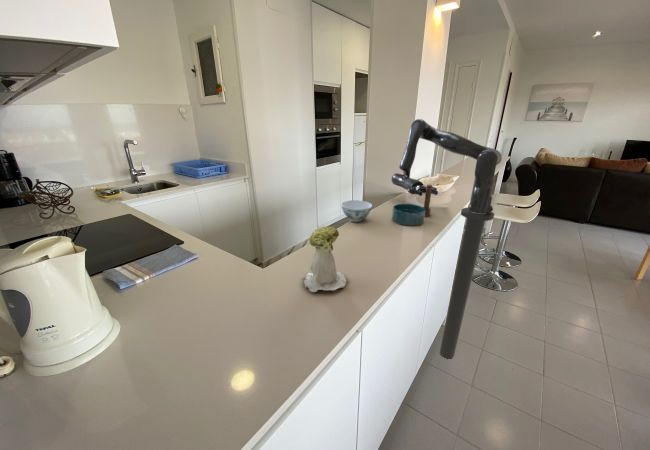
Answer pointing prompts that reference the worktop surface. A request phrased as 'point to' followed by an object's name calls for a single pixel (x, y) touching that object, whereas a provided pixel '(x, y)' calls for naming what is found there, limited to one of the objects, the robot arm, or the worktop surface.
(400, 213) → the bowl
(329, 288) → the white plant vase
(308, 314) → the worktop surface
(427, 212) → the pestle
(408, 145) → the robot arm
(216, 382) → the worktop surface
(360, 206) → the chinaware
